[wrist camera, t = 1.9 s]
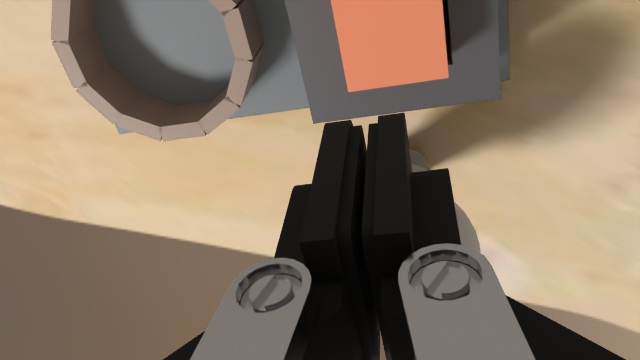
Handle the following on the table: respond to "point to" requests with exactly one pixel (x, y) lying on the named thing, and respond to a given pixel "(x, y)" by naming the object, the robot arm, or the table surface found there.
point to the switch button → (390, 42)
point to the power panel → (207, 53)
